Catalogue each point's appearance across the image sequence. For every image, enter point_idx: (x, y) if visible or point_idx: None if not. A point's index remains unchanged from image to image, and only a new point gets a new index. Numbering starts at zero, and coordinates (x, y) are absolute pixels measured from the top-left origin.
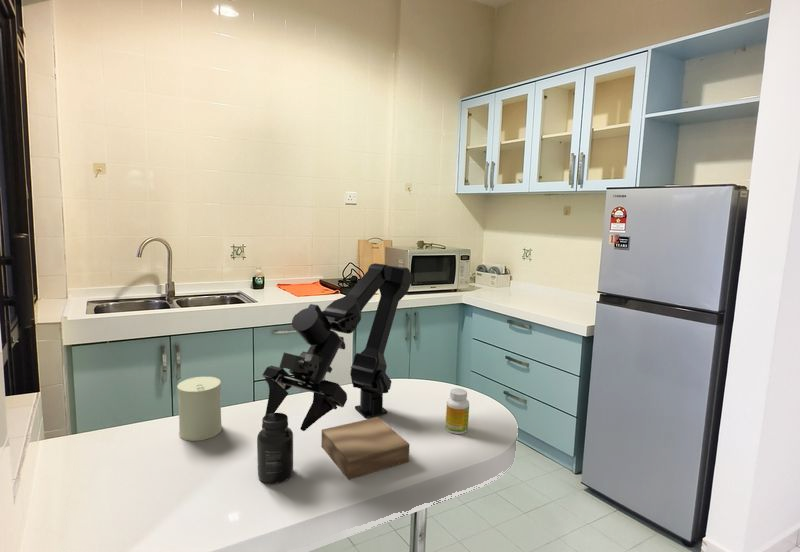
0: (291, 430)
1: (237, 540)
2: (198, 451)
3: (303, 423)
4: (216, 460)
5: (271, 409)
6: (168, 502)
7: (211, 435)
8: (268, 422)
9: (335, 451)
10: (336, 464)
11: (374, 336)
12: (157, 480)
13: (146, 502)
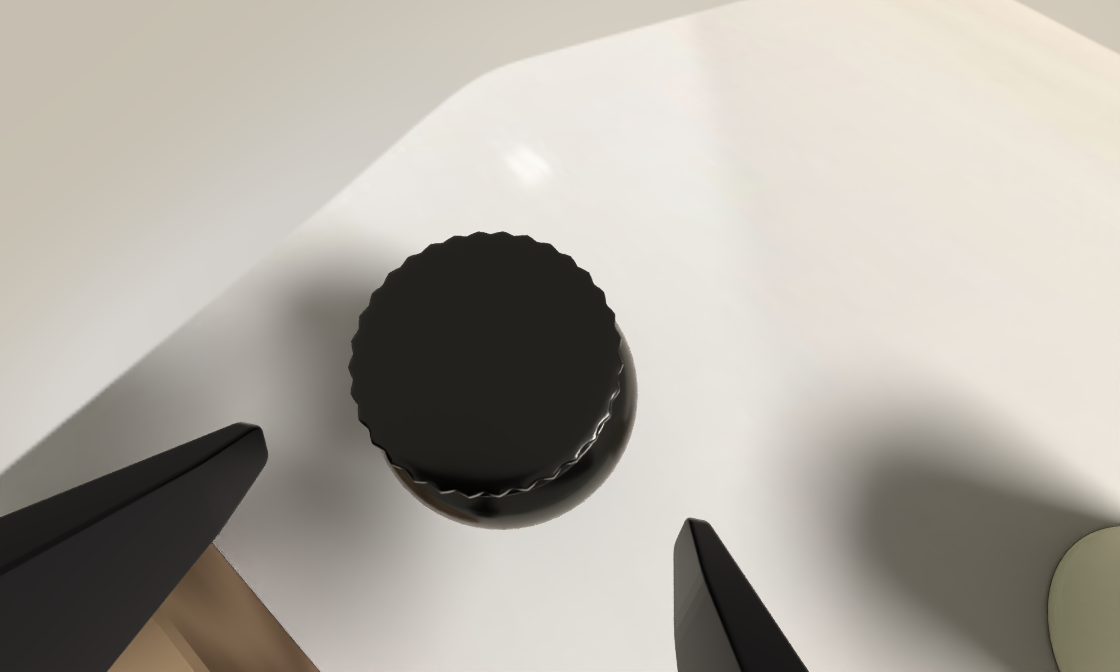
0: (397, 471)
1: (455, 93)
2: (973, 456)
3: (197, 449)
4: (837, 420)
5: (700, 621)
6: (766, 153)
7: (1062, 611)
8: (494, 235)
9: (229, 655)
10: (268, 613)
11: None
12: (910, 228)
13: (826, 134)
